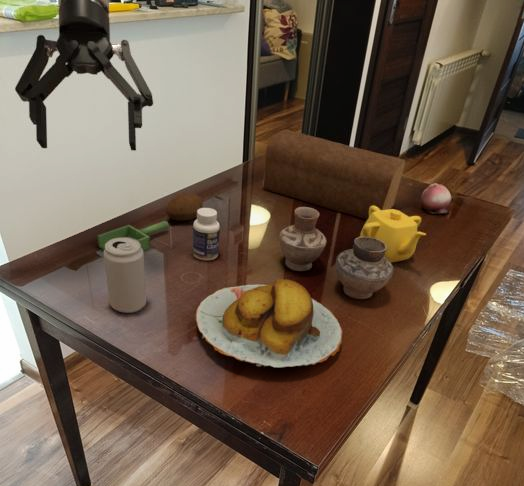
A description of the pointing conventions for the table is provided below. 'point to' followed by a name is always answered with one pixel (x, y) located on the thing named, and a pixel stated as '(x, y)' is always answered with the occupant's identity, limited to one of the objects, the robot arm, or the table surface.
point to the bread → (331, 173)
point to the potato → (184, 207)
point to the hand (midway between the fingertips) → (87, 145)
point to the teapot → (393, 232)
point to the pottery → (347, 263)
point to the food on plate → (269, 325)
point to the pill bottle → (206, 234)
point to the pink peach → (435, 199)
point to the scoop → (132, 234)
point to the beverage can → (125, 274)
